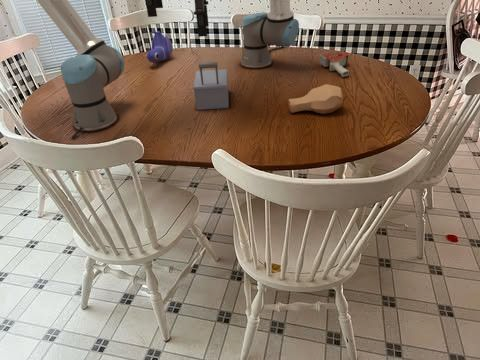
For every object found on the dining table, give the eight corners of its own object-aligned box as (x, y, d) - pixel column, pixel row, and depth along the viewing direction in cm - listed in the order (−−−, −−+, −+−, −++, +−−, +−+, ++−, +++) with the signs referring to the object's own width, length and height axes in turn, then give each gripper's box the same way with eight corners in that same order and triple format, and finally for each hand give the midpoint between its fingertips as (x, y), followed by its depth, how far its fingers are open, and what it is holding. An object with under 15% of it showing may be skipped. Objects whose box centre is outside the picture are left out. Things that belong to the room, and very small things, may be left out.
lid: (227, 87, 132) (225, 63, 127) (193, 89, 132) (190, 65, 127) (226, 71, 146) (225, 48, 141) (196, 73, 146) (193, 50, 141)
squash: (347, 114, 128) (348, 93, 121) (291, 124, 130) (290, 103, 123) (339, 97, 135) (340, 77, 129) (287, 107, 137) (285, 87, 131)
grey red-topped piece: (345, 82, 156) (359, 65, 169) (347, 70, 153) (362, 54, 165) (308, 74, 164) (324, 58, 176) (309, 63, 160) (326, 48, 173)
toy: (161, 63, 199) (140, 68, 177) (156, 30, 193) (134, 32, 170) (177, 62, 197) (158, 68, 175) (173, 29, 190) (153, 31, 168)
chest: (228, 107, 138) (227, 86, 133) (196, 109, 138) (193, 88, 133) (228, 91, 151) (226, 71, 146) (199, 93, 151) (196, 73, 146)
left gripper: (147, -66, 94) (162, 19, 107) (160, -69, 114) (171, 4, 127) (119, -65, 94) (137, 21, 107) (137, -67, 114) (150, 5, 127)
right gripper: (206, -42, 96) (214, 40, 109) (209, -48, 116) (215, 21, 129) (179, -40, 96) (189, 41, 109) (186, -47, 116) (195, 22, 129)
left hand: (156, 12), depth 117 cm, fingers open, 13 cm apart
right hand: (203, 30), depth 119 cm, fingers open, 13 cm apart
